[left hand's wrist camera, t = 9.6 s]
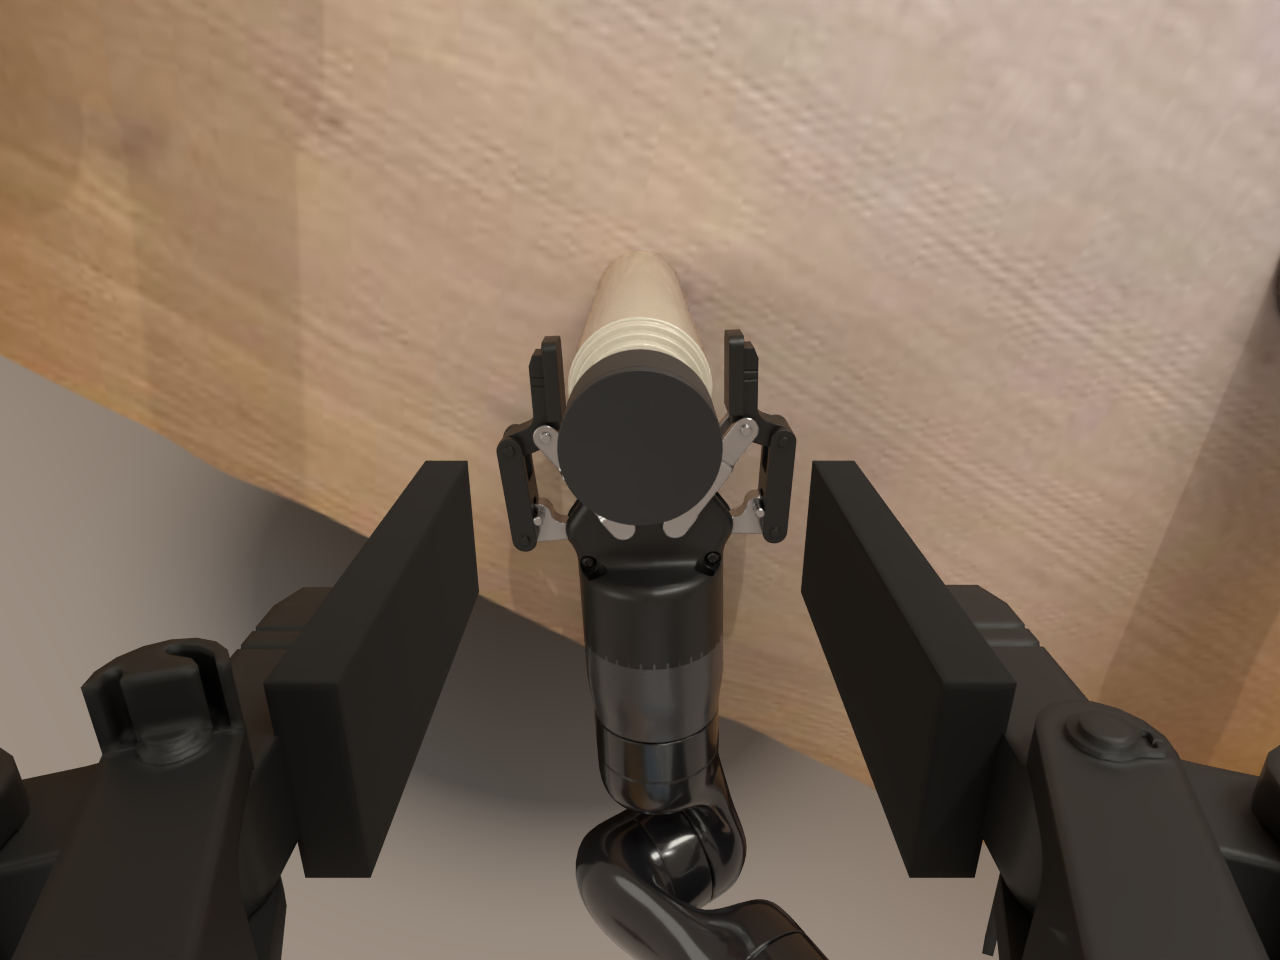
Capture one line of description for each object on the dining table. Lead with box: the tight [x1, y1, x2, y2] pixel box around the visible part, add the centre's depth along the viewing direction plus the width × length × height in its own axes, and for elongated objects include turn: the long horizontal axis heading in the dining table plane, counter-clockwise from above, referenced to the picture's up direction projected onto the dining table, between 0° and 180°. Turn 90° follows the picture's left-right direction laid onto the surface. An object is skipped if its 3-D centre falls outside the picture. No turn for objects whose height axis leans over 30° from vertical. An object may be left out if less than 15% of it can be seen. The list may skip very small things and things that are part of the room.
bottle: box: [567, 251, 713, 399], centre depth 30 cm, size 4×4×24 cm
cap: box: [557, 349, 723, 526], centre depth 19 cm, size 4×4×2 cm
